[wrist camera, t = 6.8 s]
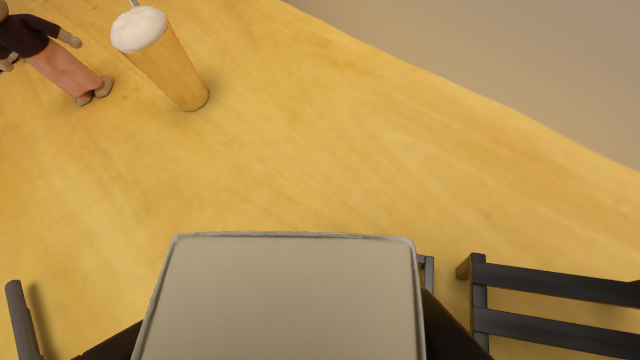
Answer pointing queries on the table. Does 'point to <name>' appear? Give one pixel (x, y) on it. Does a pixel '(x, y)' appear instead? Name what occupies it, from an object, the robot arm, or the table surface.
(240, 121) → the table surface
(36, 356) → the walkie-talkie
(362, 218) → the table surface
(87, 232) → the table surface
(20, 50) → the grandmother figurine
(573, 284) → the top rack
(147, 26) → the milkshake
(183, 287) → the beige box
